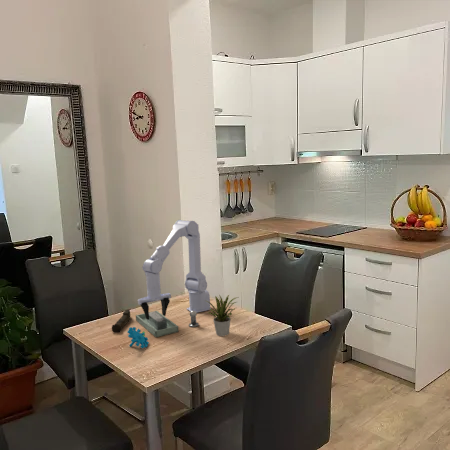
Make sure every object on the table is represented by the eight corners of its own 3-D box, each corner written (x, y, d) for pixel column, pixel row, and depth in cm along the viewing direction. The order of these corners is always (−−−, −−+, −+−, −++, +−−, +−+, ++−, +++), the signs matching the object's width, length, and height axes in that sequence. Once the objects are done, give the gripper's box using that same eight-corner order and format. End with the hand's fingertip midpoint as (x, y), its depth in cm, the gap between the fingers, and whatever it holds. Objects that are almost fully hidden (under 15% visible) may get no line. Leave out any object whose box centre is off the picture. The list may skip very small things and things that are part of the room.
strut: (155, 319, 205) (154, 311, 205) (167, 328, 194) (166, 319, 193) (147, 321, 203) (146, 313, 203) (158, 330, 192) (157, 321, 191)
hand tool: (120, 333, 193) (120, 323, 192) (111, 333, 194) (111, 322, 193) (135, 317, 212) (134, 308, 211) (127, 317, 212) (126, 308, 212)
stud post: (196, 322, 201) (195, 308, 200) (200, 325, 197) (199, 310, 196) (187, 325, 198) (186, 310, 197) (191, 328, 195) (190, 313, 194)
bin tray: (157, 315, 212) (156, 310, 212) (178, 331, 191) (178, 326, 191) (136, 320, 207) (135, 315, 207) (155, 337, 186) (155, 331, 186)
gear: (142, 348, 172) (125, 329, 173) (132, 359, 173) (115, 339, 174) (154, 341, 182) (138, 322, 184) (145, 350, 183) (129, 332, 185)
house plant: (250, 332, 187) (248, 294, 184) (227, 343, 177) (225, 303, 174) (224, 325, 196) (222, 288, 194) (201, 335, 186) (199, 296, 184)
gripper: (140, 292, 190) (143, 323, 192) (172, 285, 197) (174, 315, 199) (135, 288, 196) (137, 318, 198) (166, 282, 203) (168, 311, 205)
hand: (155, 317), depth 199 cm, fingers open, 7 cm apart
